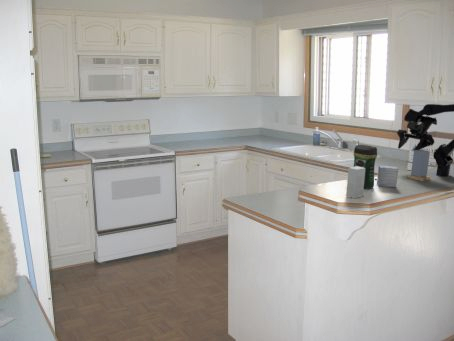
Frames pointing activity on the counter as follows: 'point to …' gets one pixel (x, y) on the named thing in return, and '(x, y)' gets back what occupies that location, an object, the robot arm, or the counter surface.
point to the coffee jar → (366, 162)
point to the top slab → (419, 178)
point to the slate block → (420, 163)
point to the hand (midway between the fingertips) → (406, 149)
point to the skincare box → (355, 182)
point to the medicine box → (387, 176)
